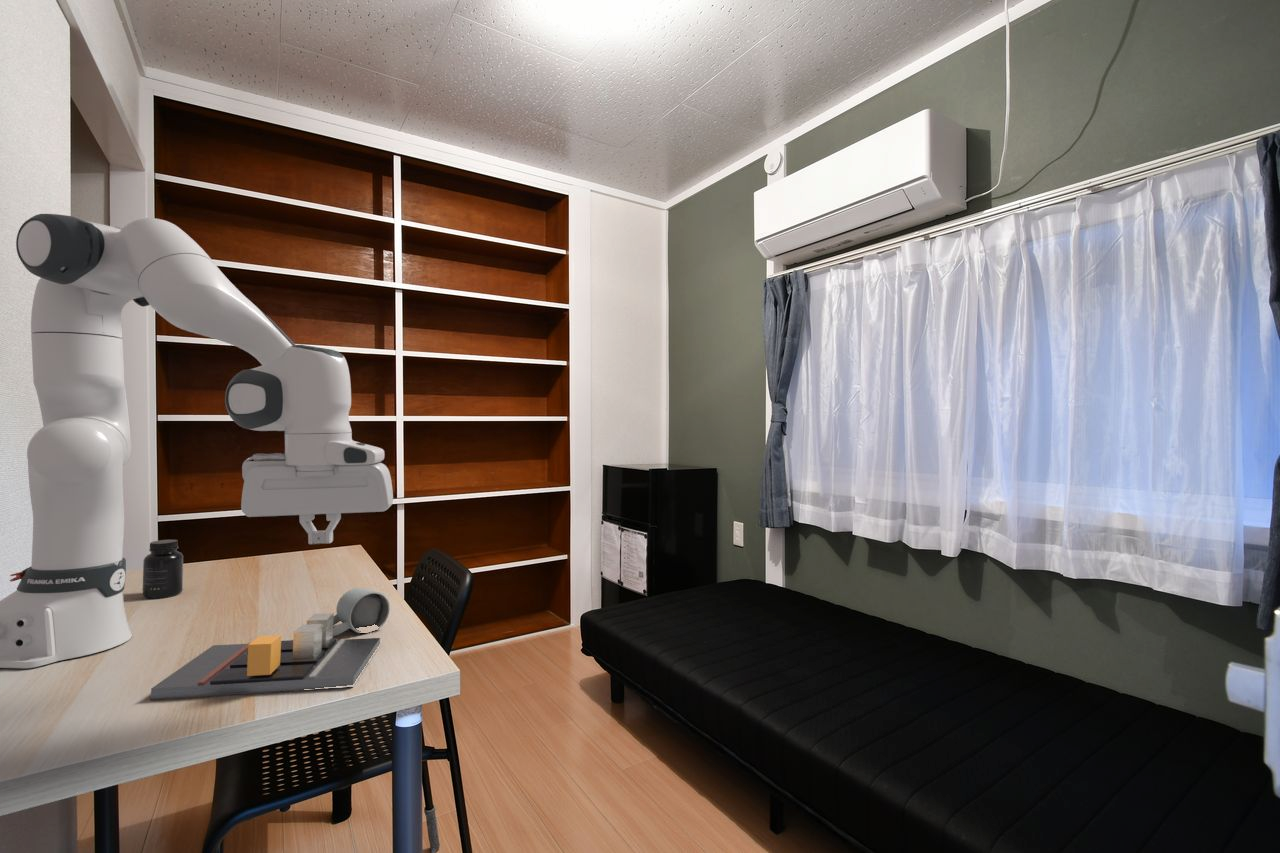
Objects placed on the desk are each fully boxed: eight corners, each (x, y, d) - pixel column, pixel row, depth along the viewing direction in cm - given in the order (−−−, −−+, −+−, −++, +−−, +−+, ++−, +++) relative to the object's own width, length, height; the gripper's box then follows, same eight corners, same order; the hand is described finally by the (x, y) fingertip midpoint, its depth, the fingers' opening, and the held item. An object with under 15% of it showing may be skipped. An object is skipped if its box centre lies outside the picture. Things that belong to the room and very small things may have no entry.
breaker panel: (150, 700, 77) (152, 653, 78) (212, 654, 93) (214, 615, 93) (353, 687, 83) (354, 643, 83) (379, 646, 99) (381, 610, 99)
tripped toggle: (246, 676, 81) (248, 644, 81) (257, 666, 84) (259, 636, 84) (269, 674, 81) (271, 643, 81) (280, 664, 85) (281, 635, 85)
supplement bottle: (152, 591, 127) (154, 538, 127) (188, 590, 129) (190, 538, 129) (135, 600, 120) (137, 544, 120) (173, 598, 122) (175, 543, 122)
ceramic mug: (371, 618, 113) (372, 580, 113) (390, 628, 108) (390, 588, 108) (314, 632, 105) (315, 591, 105) (331, 643, 100) (332, 601, 100)
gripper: (231, 455, 79) (233, 551, 79) (385, 452, 83) (386, 544, 84) (252, 452, 85) (253, 542, 86) (394, 449, 90) (396, 535, 90)
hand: (320, 543), depth 85 cm, fingers closed
